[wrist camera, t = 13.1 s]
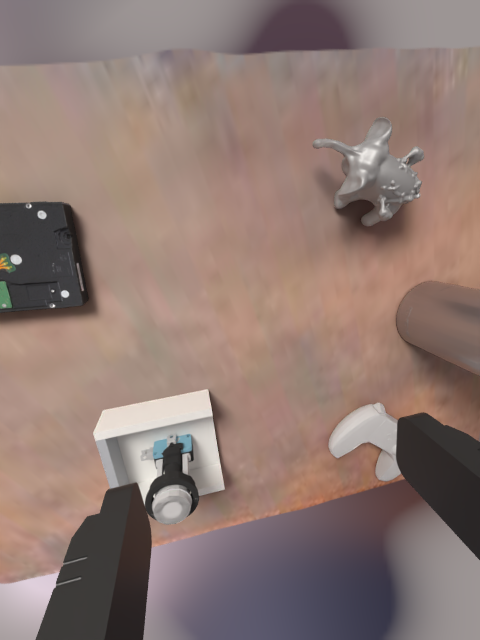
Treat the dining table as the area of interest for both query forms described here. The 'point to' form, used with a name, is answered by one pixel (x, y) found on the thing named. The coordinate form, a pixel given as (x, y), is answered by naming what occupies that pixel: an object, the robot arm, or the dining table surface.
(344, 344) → the dining table surface
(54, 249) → the disk drive
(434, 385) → the dining table surface
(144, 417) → the box
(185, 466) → the push button
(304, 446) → the dining table surface
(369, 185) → the elephant statuette
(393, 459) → the game controller
